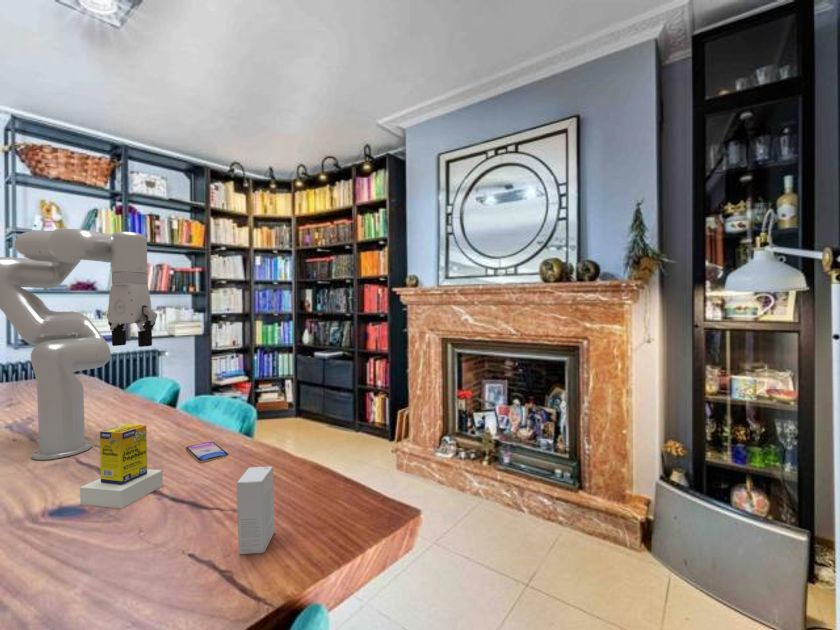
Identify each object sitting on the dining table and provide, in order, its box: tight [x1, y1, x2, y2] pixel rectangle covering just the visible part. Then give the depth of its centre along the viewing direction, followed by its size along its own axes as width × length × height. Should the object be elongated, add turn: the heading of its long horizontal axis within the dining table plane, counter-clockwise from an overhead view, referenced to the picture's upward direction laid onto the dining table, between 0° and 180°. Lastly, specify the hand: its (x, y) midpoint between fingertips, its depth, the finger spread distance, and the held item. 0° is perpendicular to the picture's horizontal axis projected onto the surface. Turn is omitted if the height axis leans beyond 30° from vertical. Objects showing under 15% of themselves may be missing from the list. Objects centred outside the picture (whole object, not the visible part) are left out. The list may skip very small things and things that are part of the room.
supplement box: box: [99, 423, 148, 485], centre depth 84 cm, size 6×6×11 cm
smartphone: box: [185, 441, 230, 464], centre depth 108 cm, size 8×15×1 cm, turn 44°
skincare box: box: [236, 466, 275, 555], centre depth 66 cm, size 6×4×12 cm
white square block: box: [79, 468, 164, 509], centre depth 84 cm, size 10×10×4 cm
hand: (132, 345), depth 102 cm, fingers open, 9 cm apart
